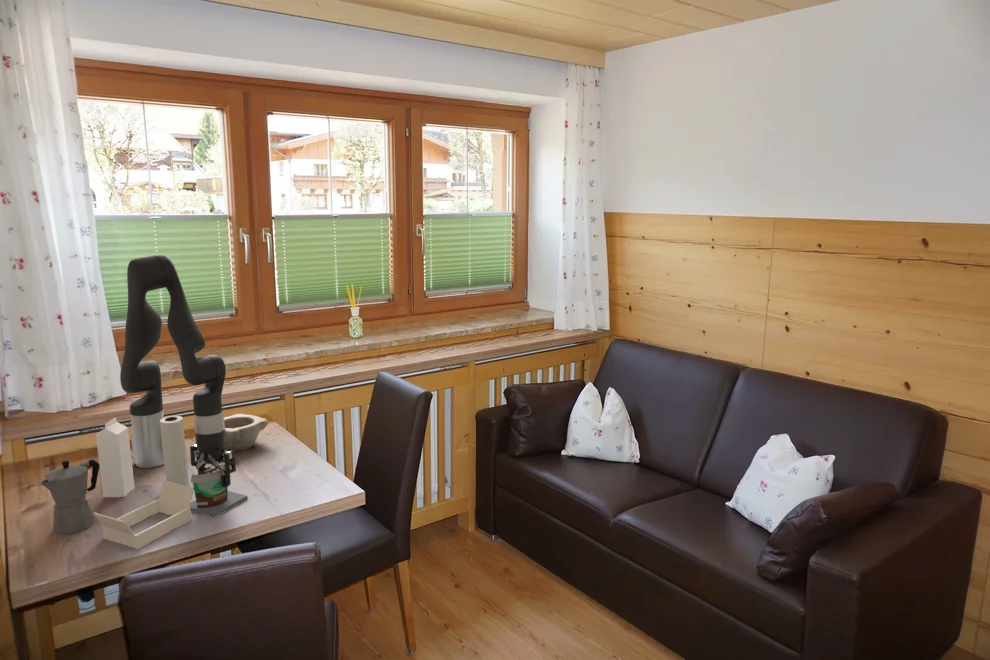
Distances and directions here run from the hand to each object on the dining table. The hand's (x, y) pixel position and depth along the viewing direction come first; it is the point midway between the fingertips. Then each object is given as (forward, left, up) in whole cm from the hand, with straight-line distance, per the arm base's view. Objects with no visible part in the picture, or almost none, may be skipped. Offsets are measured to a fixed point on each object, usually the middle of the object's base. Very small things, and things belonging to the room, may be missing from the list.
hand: (214, 483), depth 184 cm
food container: (+1, 0, -5) cm, 5 cm away
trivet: (0, 0, -6) cm, 6 cm away
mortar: (-27, +34, -6) cm, 44 cm away
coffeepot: (-24, -24, -6) cm, 34 cm away
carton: (-5, -18, -6) cm, 19 cm away
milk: (-31, -7, -6) cm, 32 cm away
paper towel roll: (-18, +2, -6) cm, 19 cm away
